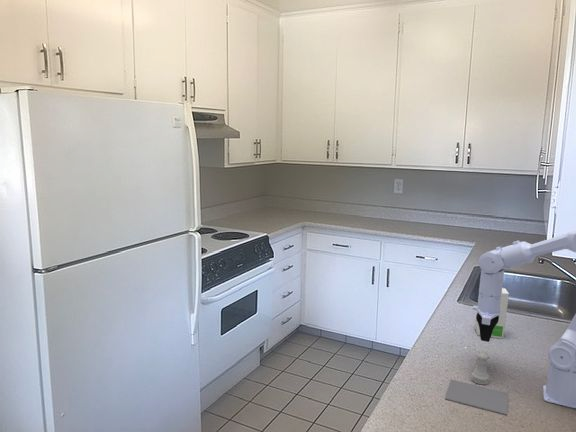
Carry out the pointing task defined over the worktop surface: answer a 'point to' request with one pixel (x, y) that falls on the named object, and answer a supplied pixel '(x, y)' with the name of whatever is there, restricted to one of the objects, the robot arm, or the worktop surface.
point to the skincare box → (500, 326)
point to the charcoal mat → (477, 396)
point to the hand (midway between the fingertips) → (485, 340)
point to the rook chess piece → (481, 369)
